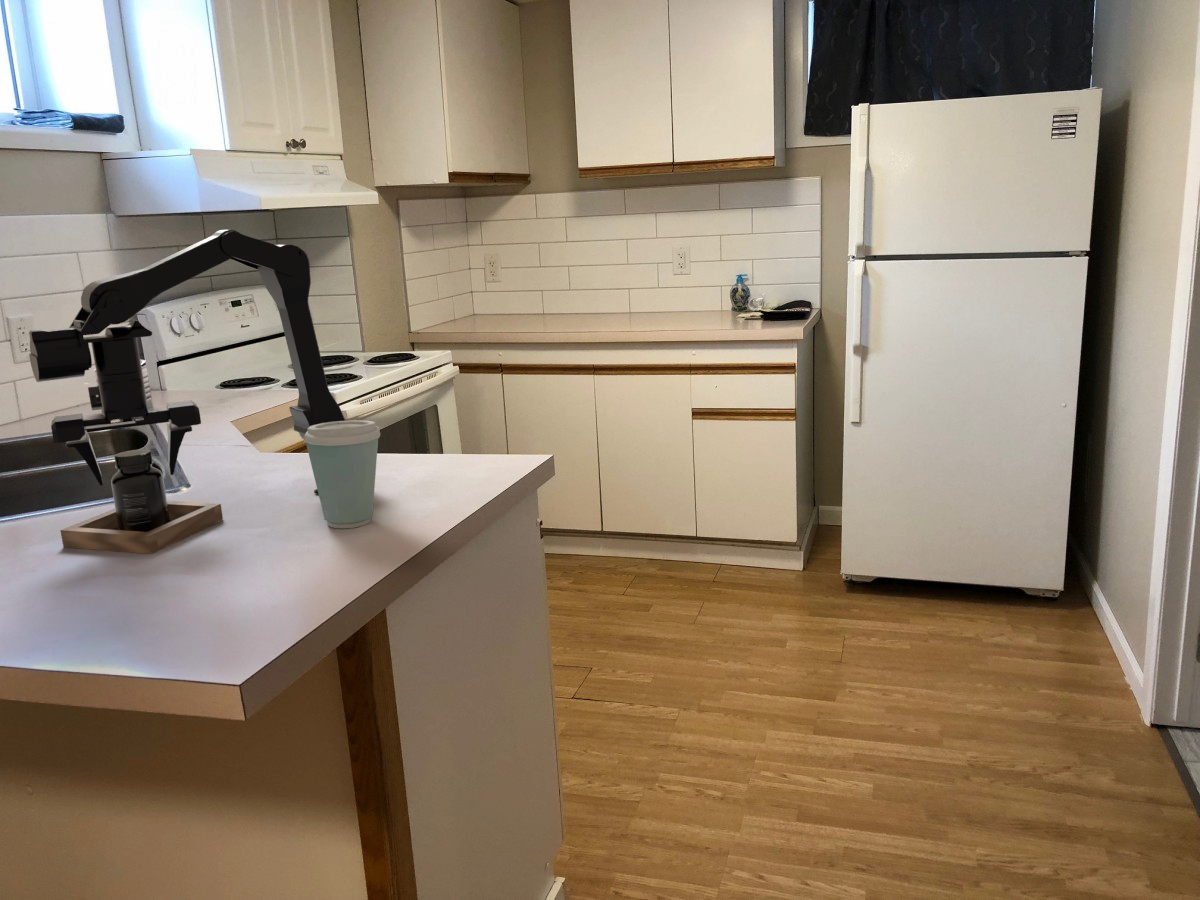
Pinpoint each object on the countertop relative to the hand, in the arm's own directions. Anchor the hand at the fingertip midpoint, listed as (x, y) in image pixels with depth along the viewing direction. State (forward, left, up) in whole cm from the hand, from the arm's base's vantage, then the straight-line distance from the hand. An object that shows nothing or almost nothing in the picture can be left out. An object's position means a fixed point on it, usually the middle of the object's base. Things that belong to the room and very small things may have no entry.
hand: (137, 479), depth 140 cm
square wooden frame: (0, 0, -8) cm, 8 cm away
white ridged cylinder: (+75, -78, -8) cm, 109 cm away
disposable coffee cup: (-28, -10, -8) cm, 31 cm away
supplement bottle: (0, 0, -8) cm, 8 cm away
